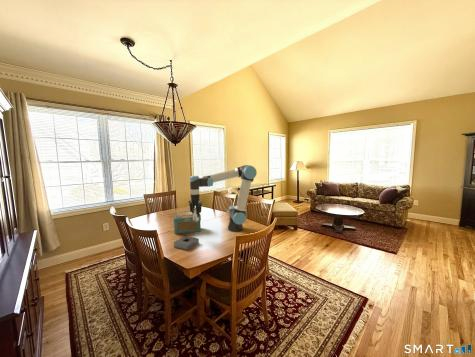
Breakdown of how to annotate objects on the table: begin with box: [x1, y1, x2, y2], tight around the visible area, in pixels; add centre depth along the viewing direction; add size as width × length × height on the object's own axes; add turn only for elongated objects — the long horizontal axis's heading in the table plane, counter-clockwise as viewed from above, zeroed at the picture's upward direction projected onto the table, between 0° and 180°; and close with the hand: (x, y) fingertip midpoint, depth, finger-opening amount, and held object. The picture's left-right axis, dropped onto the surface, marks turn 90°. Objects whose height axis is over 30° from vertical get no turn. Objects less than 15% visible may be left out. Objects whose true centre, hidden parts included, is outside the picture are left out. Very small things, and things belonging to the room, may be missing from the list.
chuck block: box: [173, 235, 200, 251], centre depth 163 cm, size 14×14×4 cm
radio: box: [173, 210, 202, 235], centre depth 193 cm, size 26×11×20 cm, turn 102°
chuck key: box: [193, 207, 197, 222], centre depth 174 cm, size 3×6×12 cm, turn 153°
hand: (195, 220), depth 175 cm, fingers closed on chuck key, 3 cm apart
